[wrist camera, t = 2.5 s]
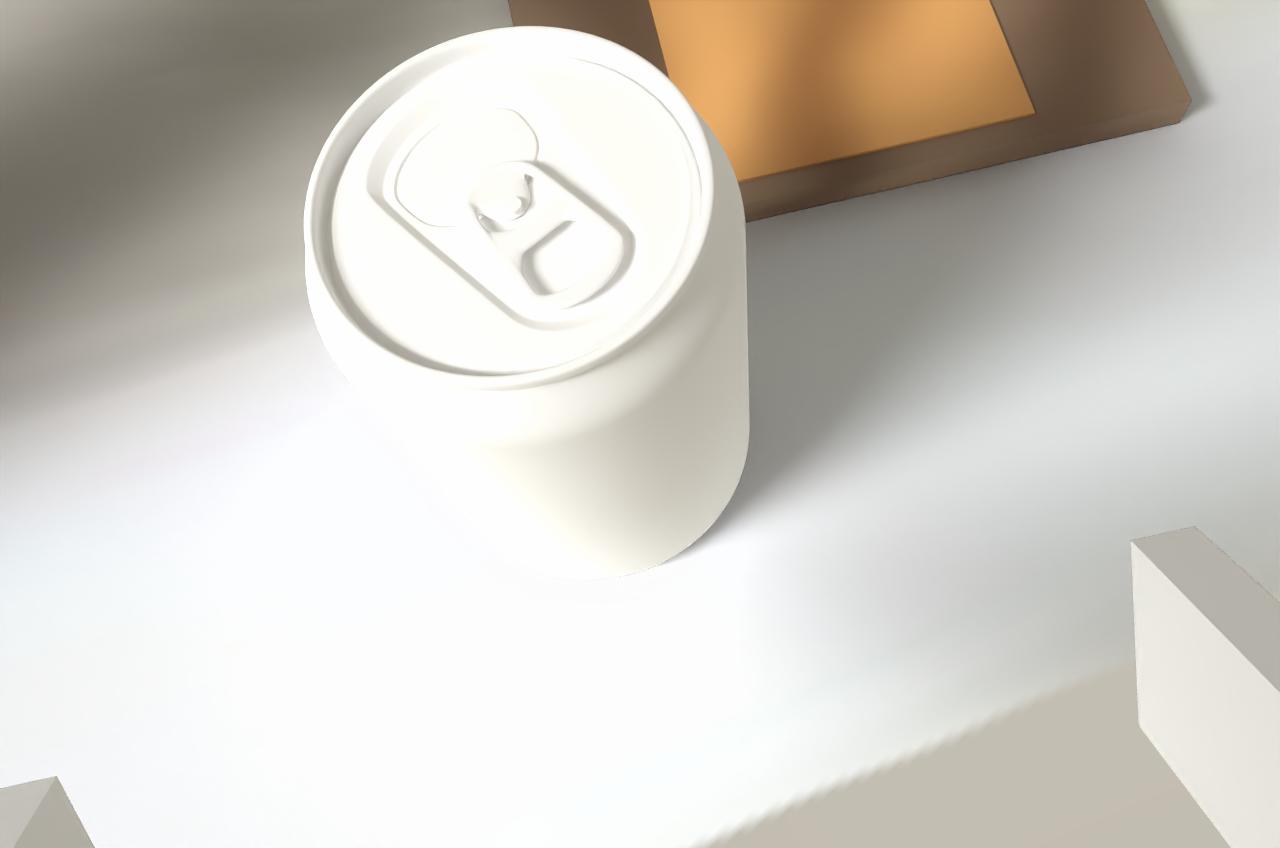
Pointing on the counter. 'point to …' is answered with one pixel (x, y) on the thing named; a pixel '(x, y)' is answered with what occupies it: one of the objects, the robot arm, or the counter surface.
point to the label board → (890, 82)
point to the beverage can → (542, 292)
